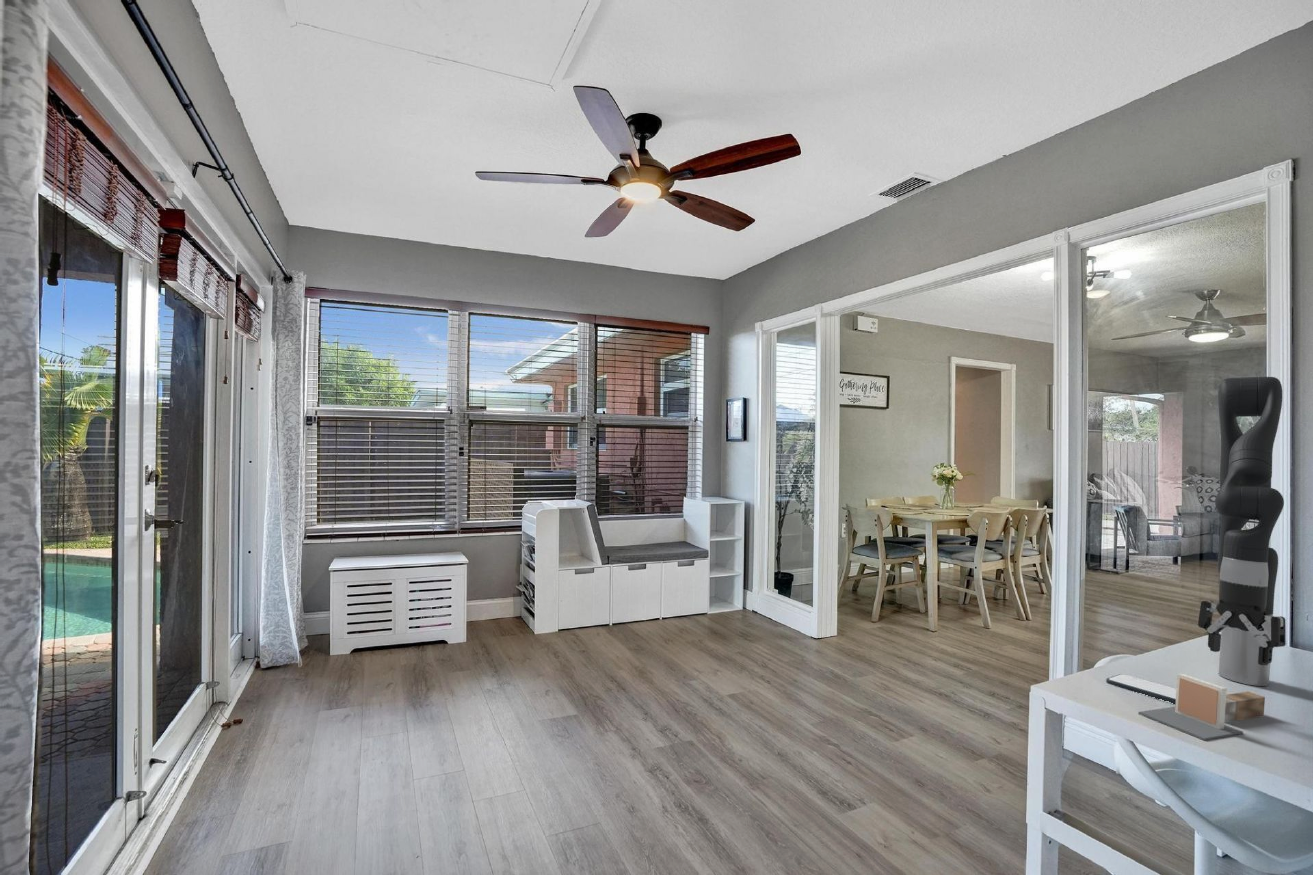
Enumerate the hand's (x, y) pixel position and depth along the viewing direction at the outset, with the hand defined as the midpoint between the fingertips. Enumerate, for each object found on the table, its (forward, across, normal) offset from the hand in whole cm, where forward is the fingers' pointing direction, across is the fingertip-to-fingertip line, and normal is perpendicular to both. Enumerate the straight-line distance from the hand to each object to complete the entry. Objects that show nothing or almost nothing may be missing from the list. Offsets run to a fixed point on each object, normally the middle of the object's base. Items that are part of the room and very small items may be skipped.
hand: (1238, 657), depth 137 cm
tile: (+12, 0, +12) cm, 17 cm away
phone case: (+13, +14, +4) cm, 19 cm away
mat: (+12, 0, +15) cm, 19 cm away
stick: (+12, 0, 0) cm, 12 cm away
